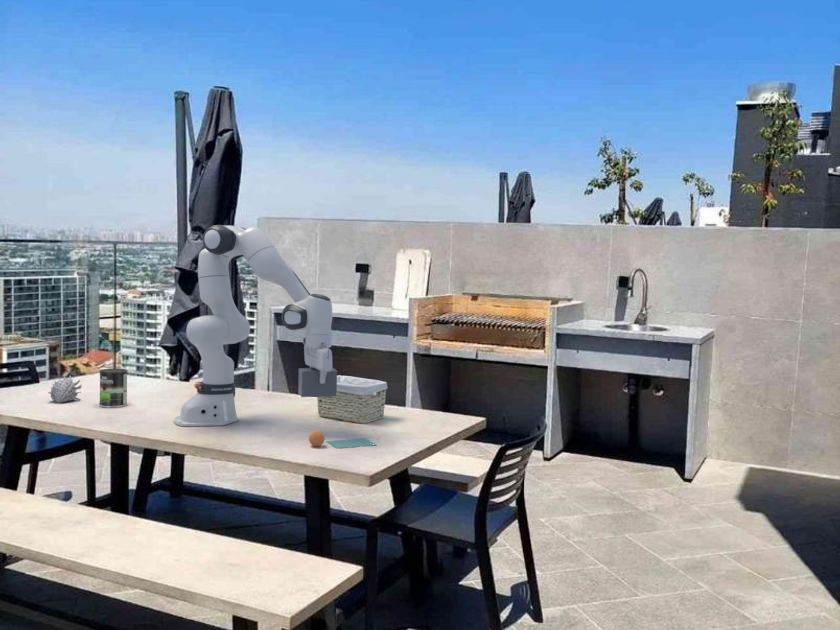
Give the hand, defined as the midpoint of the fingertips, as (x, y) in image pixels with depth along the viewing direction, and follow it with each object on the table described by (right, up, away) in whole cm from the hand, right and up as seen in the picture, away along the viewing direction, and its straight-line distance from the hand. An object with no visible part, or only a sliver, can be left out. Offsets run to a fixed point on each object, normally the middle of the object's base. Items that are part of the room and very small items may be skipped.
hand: (317, 381), depth 269 cm
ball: (+2, -17, -18) cm, 25 cm away
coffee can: (-86, -13, +40) cm, 96 cm away
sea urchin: (-108, -12, +45) cm, 117 cm away
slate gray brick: (0, -5, 0) cm, 5 cm away
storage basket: (+9, -17, +29) cm, 35 cm away
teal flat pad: (+13, -20, -12) cm, 26 cm away
